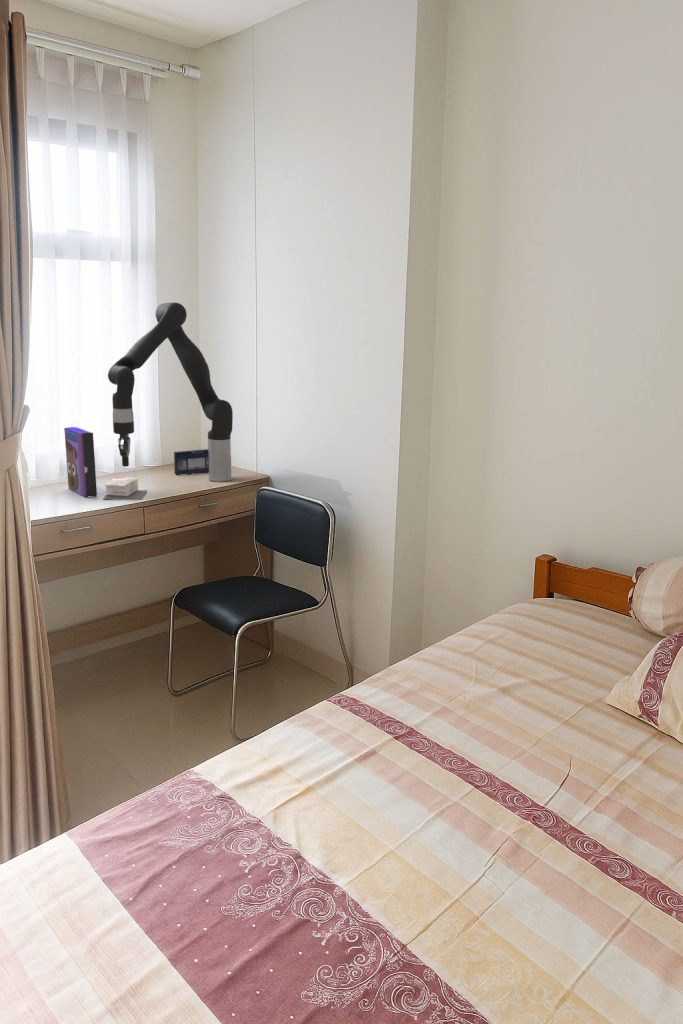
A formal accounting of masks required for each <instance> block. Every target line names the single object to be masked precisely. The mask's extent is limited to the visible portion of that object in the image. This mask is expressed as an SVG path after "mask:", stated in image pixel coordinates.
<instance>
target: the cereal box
mask: <svg viewBox="0 0 683 1024" xmlns="http://www.w3.org/2000/svg"><path fill="white" fill-rule="evenodd" d="M63 430H64V431H63V432H64V443H65V456H66V457H65V458H66V471H67V472H66V473H67V482H68V483H67V484H68V486H67V487H68V490H69V491H72V492H74V493H75V494H77V495H79V496H81V497H82V496H83V498H84V497H85V498H89V497H88V496H93V497H97V496H98V491H97V489H98V488H97V474H96V460H95V459H96V458H95V457H96V456H95V442H94V432H91V431H88V430H85V429H82V428H80V427H78V426H70V427H64V429H63ZM96 495H97V496H96Z"/></svg>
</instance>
